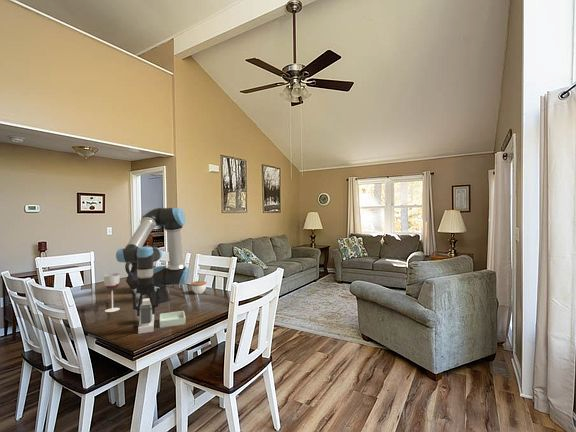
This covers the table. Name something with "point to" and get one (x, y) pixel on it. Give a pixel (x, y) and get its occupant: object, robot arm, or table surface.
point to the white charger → (146, 302)
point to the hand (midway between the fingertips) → (146, 321)
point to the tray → (172, 319)
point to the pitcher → (132, 275)
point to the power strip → (146, 326)
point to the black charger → (145, 314)
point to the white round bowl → (198, 287)
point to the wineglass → (112, 286)
